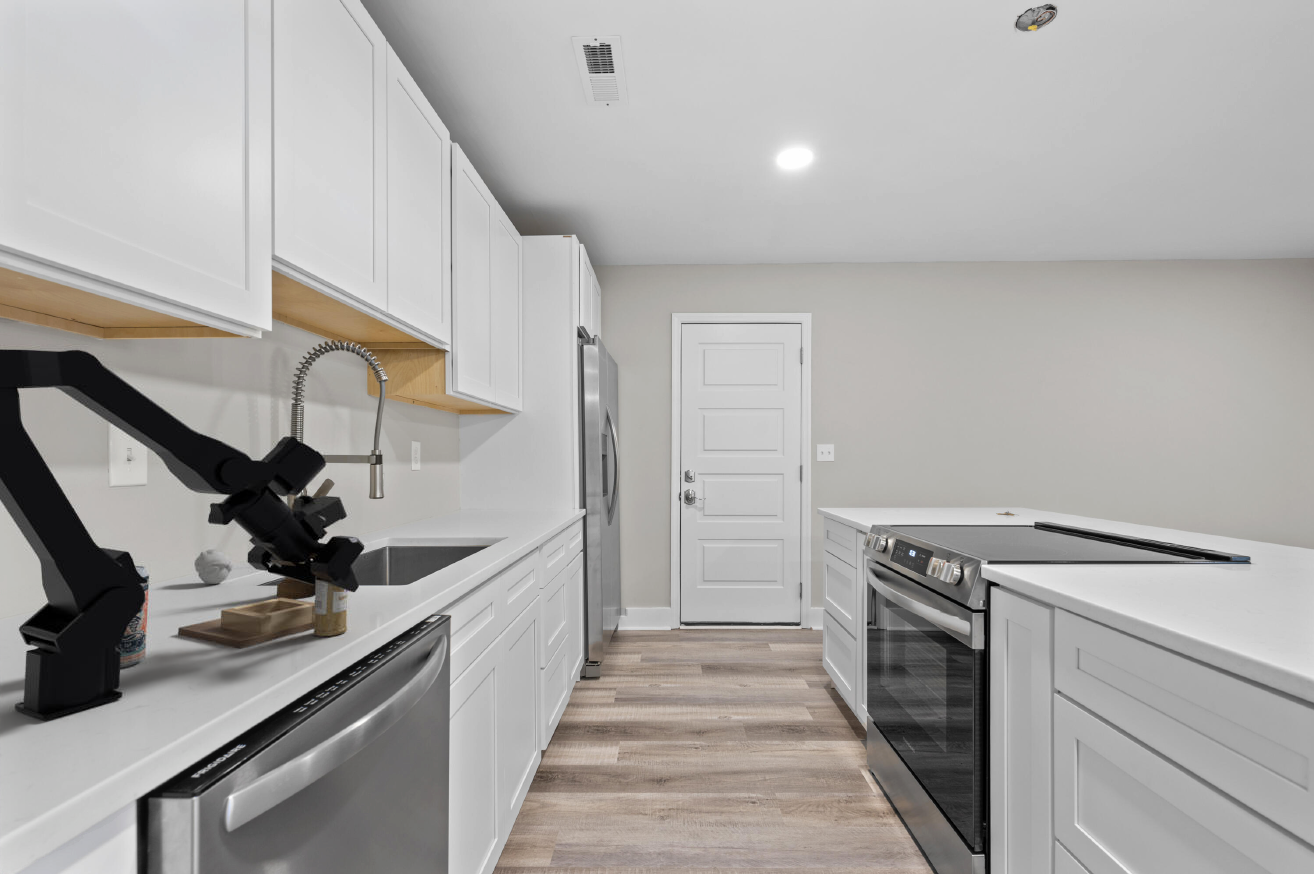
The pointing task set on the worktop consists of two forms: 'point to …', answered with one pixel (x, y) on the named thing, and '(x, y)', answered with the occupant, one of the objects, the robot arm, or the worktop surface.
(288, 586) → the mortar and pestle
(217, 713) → the worktop surface
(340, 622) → the spice jar
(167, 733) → the worktop surface
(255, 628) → the socket
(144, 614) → the beer can
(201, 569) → the white lumpy ball
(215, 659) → the worktop surface
